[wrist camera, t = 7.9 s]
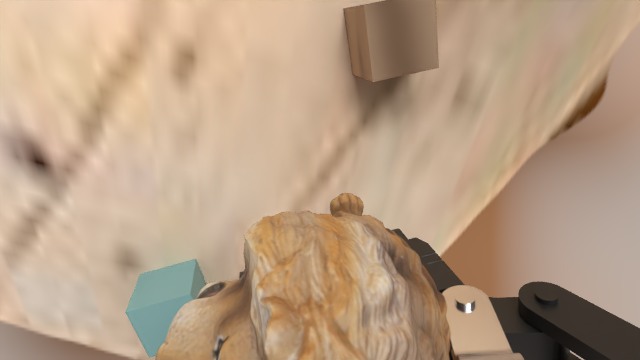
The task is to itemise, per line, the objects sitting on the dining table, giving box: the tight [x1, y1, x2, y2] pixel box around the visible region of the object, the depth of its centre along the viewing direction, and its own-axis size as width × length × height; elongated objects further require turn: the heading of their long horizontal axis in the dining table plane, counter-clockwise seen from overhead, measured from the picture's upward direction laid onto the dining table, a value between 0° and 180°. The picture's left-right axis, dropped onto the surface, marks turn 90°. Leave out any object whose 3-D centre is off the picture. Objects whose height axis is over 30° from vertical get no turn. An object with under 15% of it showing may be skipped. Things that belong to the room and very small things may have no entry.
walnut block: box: [344, 0, 439, 82], centre depth 28 cm, size 5×5×5 cm
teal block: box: [126, 259, 206, 357], centre depth 32 cm, size 5×5×5 cm
